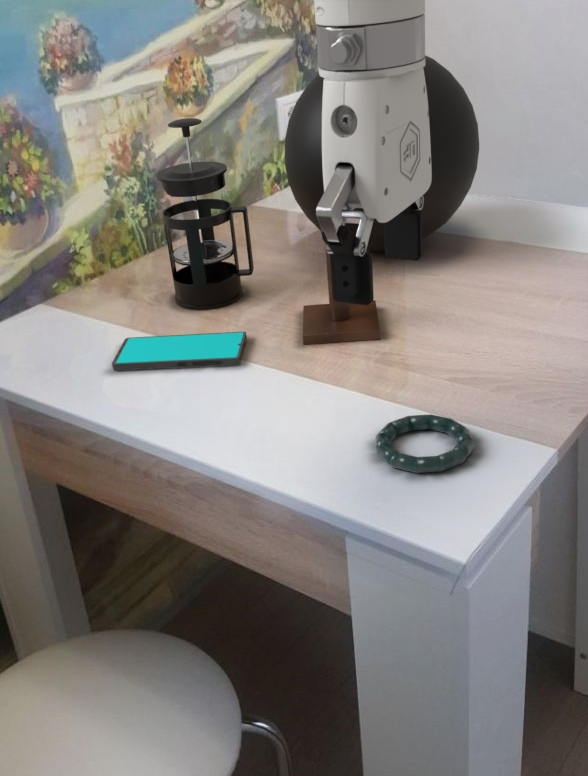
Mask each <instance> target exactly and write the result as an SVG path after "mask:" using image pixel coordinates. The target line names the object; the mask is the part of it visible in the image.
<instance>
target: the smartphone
mask: <svg viewBox="0 0 588 776" xmlns="http://www.w3.org/2000/svg"><path fill="white" fill-rule="evenodd" d="M247 338H248V337H247V332H246V331H230V332H228V331H227V332H209V333H195V334H194V333H192V334H175V335H152V336H136V337H135V336H134V337H133V336H132V337H126V338H124V340H123V342H122V344H121V345H120V347H119V349H118V351H117V353H116V355H115V357H114V358H113V360H112V362H111V367H112V370H113V371H126V370H127V371H128V370H129V371H130V370H150V369H169V368H171V369H172V368H191V367H211V366H212V367H213V366H214V367H215V366H234V365H239V364H241V361H242V359H243V354H244V350H245V347H246V343H247Z"/></svg>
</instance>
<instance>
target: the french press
mask: <svg viewBox="0 0 588 776" xmlns="http://www.w3.org/2000/svg"><path fill="white" fill-rule="evenodd" d="M202 122H203V120H202V119H200V118H196V117H186V118H179V119H176V120H175V119H174V120H172V121H171V122H169V123H168V124H167V127H169V128H171V129H172V128H173V129H181V134H182V137H183V138H185V143H186V144H185V145H186V151H187V159H188V162H185V163H181V164H175V165H171V166H169V167H165V168H163V169H161V170H160V171H158V172H157V173H156V177H155V178H156V180H157V181H159V182H160V183H161V186H162V188H163V191H164V192H165V193H166V195H168V196H169V197H172V198H173V197H174V198H189V197H190V198H191V197H193V199H192V200H186V201H182V202H179V203H175V204H172V205H170V206H168V207H167V208H165V209H164V210H163V211H162V218H163V225H164V226H163V227H164V231H165V238H166V245H167V250H168V256H169V263H170V269H171V275H172V280H173V281H172V282H173V288H174V293H175V294H174V301H175V304H176V305H177V306H179V307H181V308H183V309H187V310H193V311H194V310H195V311H204V310H213V309H219V308H223V307H226V306H230V305H231V304H234V303H236V302H237V301H239V300H240V299H241V298H243V295H244V292H245V291H244V287H243V285H242V281H241V277H246V276H248V277H250V276H252V275H253V272H254V268H255V267H254V257H253V249H252V240H251V239H252V238H251V232H250V231H251V230H250V223H249V214H248V213H249V211H248V208H247V206H245V205H240V206H239V205H238V206H232V203H231V202H230V201H227V200H226V199H220V198H200V199H198V197H200V196H204V195H208V194H212V193H215V192H218V191H220V190H222V189H223V188H225V186H226V177H225V174H226V172H227V171H228V166H227V165H226V164H225V163H223V162H218V161H192V154H191V153H192V152H191V146H190V141H189V137H191V130H190V127H195V126H197V125H200V124H202ZM212 210H221V211H223V212H219V213H218V214H214V215H212ZM192 211H195V215H196V218H193V219H178V218H172V217H174V216H177V215H180V214H183V213H186V212H192ZM237 213H241V214H242V217H243V225H244V226H243V227H244V235H245V244H246V252H247V262H248V267H249V268H245V269H244V268H242V269H240V264H239V257H238V247H237V237H236V231H235V223H234V215H233V214H237ZM227 222H229V226H230V227H229V228H230V236H231V242H229V241H227V240H219V239H216V238H215V230H214V227H218V226H220V225H223V224H225V223H227ZM171 230H175V231H184V232H185V237H186V243H187V244H186V243H185V244H183V245H181V246H178V247H177V248H175V249H174V248H173V241H172V234H171ZM232 256H233V261H234V263H233V262H229V261H225V260H227V259H230V258H231V257H232ZM176 264H178V265H181V266H184V267H182V268H180V269H178V270H177V265H176Z"/></svg>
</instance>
